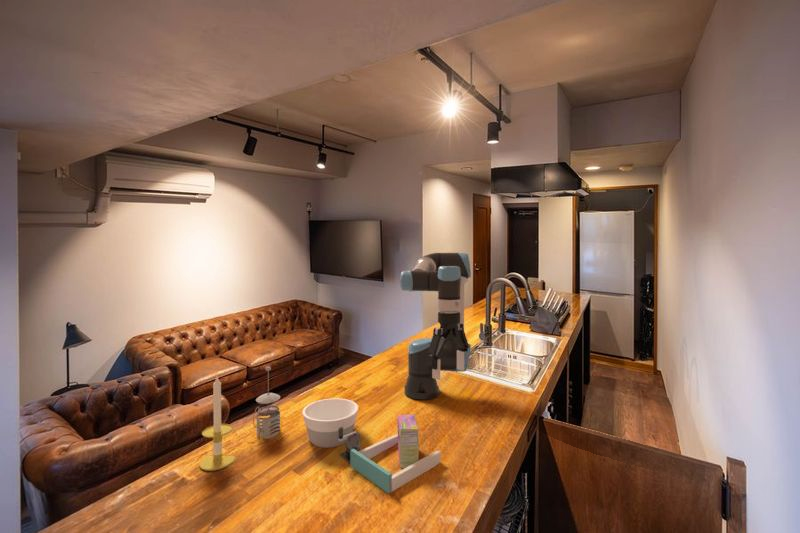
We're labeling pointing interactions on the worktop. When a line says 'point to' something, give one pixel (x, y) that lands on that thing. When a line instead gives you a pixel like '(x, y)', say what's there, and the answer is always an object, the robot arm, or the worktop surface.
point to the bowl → (329, 420)
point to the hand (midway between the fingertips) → (448, 374)
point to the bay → (382, 476)
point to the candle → (216, 435)
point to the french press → (268, 413)
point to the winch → (349, 442)
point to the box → (408, 440)
